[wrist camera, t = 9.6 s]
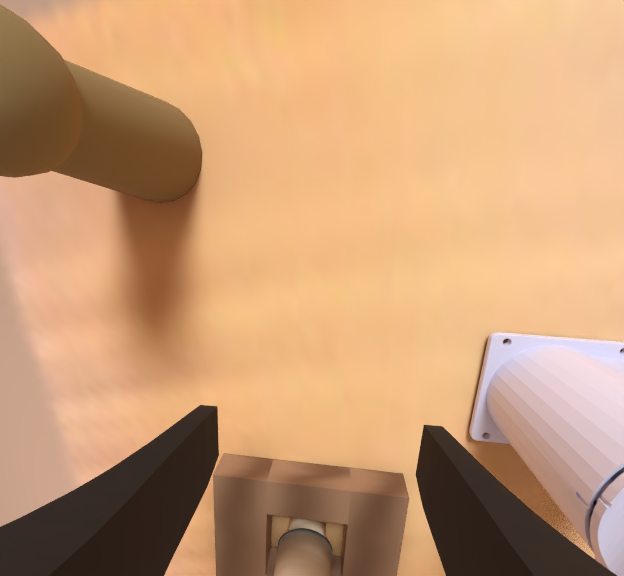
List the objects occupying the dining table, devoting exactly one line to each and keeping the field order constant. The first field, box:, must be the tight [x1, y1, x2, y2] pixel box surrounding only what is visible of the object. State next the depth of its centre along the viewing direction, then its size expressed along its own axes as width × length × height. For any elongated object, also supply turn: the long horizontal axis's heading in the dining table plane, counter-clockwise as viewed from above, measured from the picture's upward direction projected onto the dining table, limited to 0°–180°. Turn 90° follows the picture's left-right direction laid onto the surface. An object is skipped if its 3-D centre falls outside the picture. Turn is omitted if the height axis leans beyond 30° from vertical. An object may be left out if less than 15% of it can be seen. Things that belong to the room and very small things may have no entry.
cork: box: [0, 5, 202, 203], centre depth 13 cm, size 6×6×11 cm
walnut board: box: [213, 454, 409, 576], centre depth 23 cm, size 14×12×2 cm
